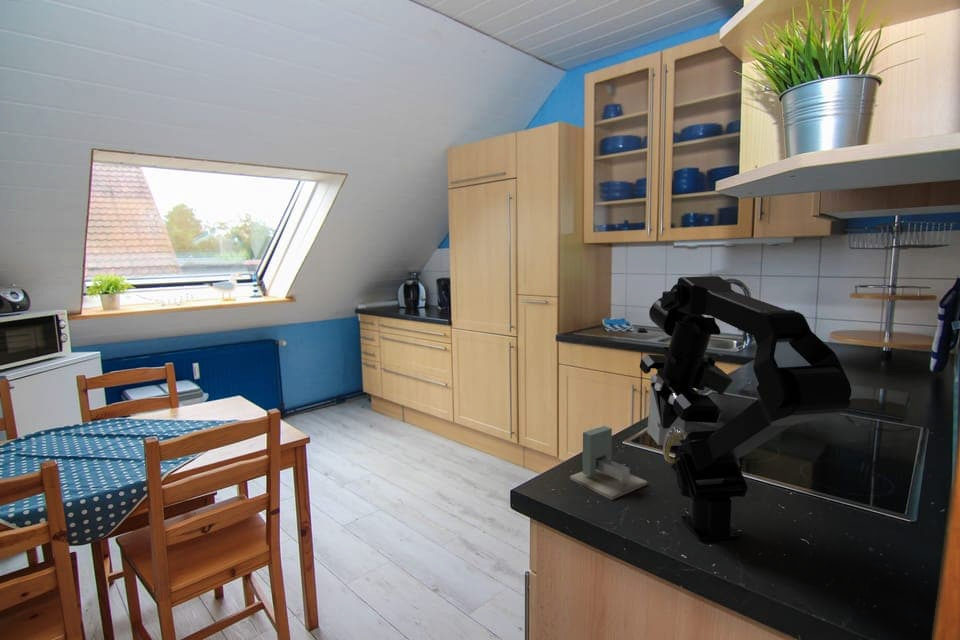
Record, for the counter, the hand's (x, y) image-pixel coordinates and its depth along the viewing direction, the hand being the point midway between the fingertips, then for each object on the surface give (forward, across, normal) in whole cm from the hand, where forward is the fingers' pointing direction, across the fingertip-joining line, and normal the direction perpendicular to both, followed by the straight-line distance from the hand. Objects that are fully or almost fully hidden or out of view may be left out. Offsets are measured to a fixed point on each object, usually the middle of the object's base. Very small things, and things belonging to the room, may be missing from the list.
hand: (665, 427), depth 89 cm
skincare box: (+18, +21, -14) cm, 31 cm away
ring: (+15, +9, -10) cm, 20 cm away
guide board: (+14, +2, +6) cm, 16 cm away
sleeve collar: (+14, +6, +8) cm, 17 cm away
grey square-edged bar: (+14, +4, +7) cm, 16 cm away
